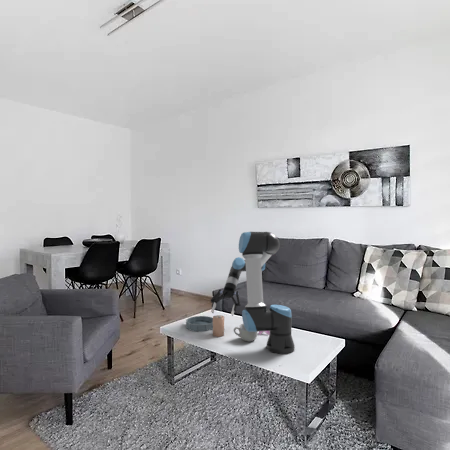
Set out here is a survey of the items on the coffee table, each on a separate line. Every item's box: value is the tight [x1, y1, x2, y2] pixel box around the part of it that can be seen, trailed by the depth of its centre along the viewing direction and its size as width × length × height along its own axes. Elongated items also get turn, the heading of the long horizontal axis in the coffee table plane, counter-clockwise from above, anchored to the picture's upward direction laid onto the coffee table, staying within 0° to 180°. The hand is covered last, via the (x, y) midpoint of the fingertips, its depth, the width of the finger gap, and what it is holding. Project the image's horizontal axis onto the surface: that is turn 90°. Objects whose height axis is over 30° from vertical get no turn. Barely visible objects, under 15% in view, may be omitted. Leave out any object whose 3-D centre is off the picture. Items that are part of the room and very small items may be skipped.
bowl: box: [185, 315, 213, 332], centre depth 224 cm, size 19×19×4 cm
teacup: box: [233, 323, 258, 342], centre depth 200 cm, size 14×11×8 cm
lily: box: [258, 331, 270, 336], centre depth 212 cm, size 12×12×10 cm
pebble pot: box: [212, 314, 225, 338], centre depth 208 cm, size 7×7×12 cm
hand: (222, 313), depth 215 cm, fingers open, 13 cm apart
